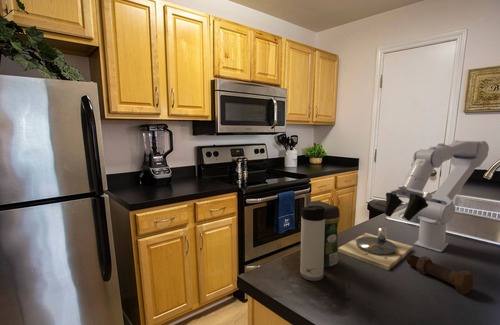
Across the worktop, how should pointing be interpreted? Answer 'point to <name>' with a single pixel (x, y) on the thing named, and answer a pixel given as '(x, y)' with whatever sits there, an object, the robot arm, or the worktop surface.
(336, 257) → the coffee jar
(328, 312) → the worktop surface
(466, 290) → the bolt
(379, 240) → the dial
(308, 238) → the travel mug
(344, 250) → the board
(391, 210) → the robot arm
